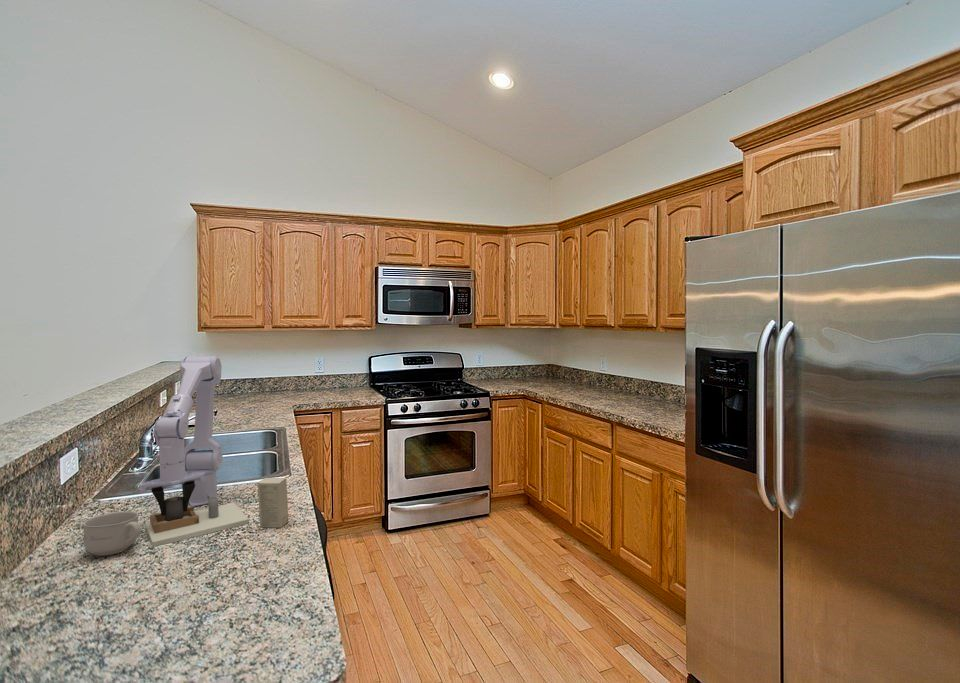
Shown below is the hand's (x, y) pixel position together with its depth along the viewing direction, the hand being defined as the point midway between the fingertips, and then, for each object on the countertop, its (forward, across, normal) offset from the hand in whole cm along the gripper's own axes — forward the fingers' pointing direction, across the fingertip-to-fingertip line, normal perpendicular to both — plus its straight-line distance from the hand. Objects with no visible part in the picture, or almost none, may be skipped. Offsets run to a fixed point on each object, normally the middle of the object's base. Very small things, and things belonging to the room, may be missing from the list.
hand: (174, 512), depth 134 cm
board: (+4, +5, -2) cm, 7 cm away
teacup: (+4, -13, -7) cm, 15 cm away
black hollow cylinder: (+2, 0, 0) cm, 2 cm away
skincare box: (+4, +21, -15) cm, 26 cm away
